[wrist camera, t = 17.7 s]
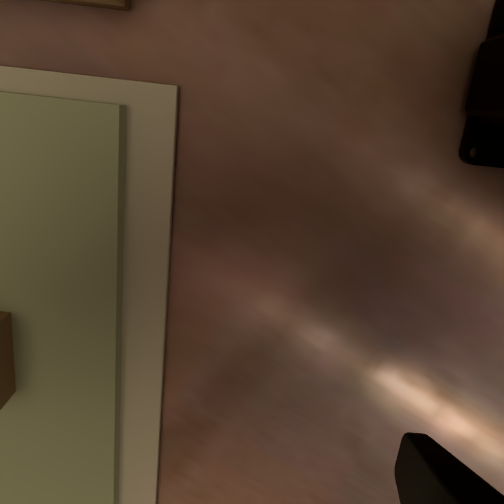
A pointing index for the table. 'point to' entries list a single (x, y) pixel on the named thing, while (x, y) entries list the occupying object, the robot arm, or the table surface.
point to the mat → (133, 254)
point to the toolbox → (99, 3)
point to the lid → (60, 298)
